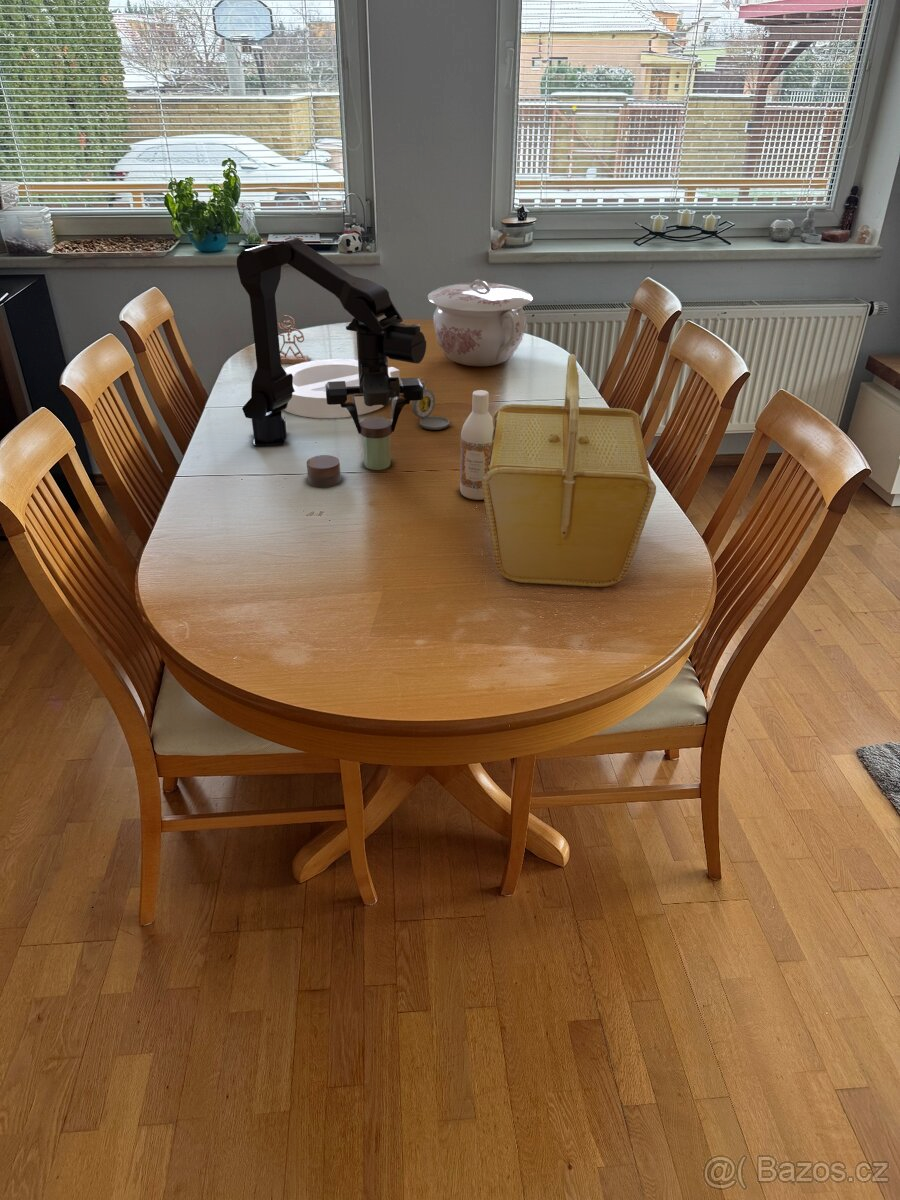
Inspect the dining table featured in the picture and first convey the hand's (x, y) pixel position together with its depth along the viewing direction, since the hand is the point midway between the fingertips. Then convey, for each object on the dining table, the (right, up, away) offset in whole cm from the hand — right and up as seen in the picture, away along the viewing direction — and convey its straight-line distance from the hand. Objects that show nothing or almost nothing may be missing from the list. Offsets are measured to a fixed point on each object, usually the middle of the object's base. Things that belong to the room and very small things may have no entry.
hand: (375, 432), depth 176 cm
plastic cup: (0, -6, +4) cm, 7 cm away
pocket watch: (+11, +6, +22) cm, 25 cm away
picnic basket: (+34, -25, -25) cm, 49 cm away
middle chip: (-10, -8, -4) cm, 13 cm away
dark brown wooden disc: (0, 0, 0) cm, 0 cm away
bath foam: (+20, -13, -7) cm, 25 cm away
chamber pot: (+23, +31, +61) cm, 72 cm away
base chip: (-10, -10, -3) cm, 14 cm away
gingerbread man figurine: (-28, +30, +60) cm, 72 cm away
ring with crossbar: (-13, +15, +37) cm, 42 cm away
